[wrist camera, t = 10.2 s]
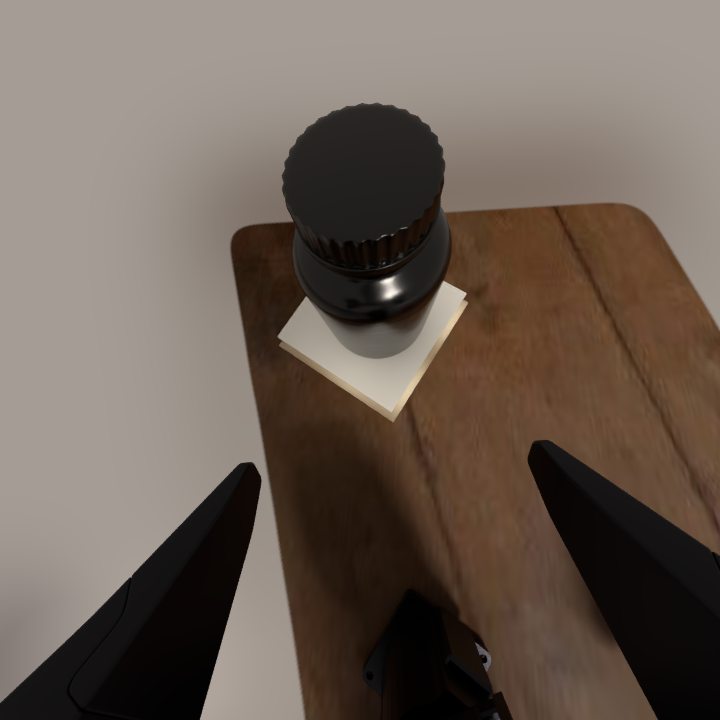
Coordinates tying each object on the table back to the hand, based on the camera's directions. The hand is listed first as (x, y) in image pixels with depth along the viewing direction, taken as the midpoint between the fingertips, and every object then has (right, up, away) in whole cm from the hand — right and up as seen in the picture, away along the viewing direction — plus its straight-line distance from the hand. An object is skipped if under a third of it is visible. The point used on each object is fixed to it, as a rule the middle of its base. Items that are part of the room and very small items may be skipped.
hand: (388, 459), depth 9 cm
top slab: (0, +6, +13) cm, 14 cm away
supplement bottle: (0, +6, +11) cm, 13 cm away
